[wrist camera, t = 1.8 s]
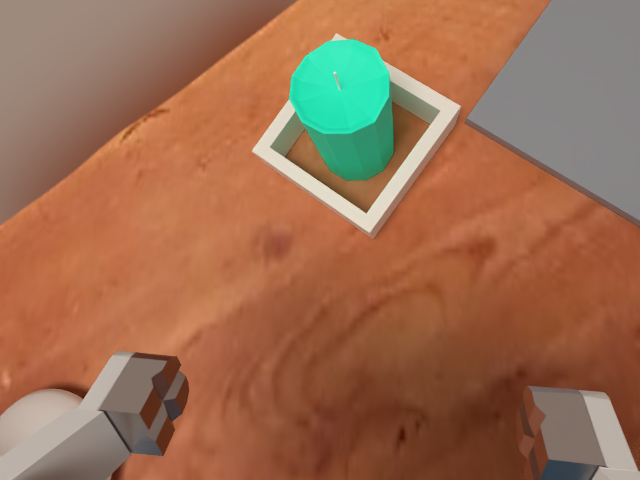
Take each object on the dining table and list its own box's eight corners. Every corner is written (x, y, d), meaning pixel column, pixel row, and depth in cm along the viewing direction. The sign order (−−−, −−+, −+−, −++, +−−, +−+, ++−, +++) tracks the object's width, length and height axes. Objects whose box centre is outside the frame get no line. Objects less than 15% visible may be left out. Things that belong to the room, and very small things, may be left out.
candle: (329, 189, 36) (293, 138, 25) (314, 121, 37) (272, 40, 26) (403, 170, 35) (402, 107, 24) (384, 101, 36) (375, 7, 25)
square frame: (342, 57, 37) (336, 33, 34) (455, 125, 35) (460, 106, 32) (265, 164, 38) (251, 151, 34) (373, 239, 35) (369, 233, 32)
